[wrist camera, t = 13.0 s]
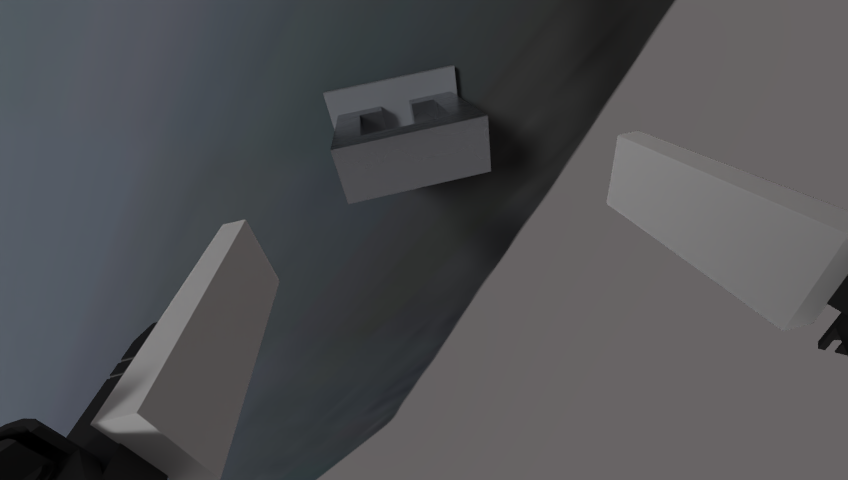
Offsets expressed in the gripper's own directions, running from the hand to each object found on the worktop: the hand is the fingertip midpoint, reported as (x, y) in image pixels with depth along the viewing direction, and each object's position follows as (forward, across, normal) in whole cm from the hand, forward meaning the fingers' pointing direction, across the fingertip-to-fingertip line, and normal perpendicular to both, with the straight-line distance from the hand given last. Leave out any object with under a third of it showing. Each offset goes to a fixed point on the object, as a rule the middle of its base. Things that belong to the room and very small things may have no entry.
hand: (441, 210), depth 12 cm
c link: (+14, 0, 0) cm, 14 cm away
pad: (+15, 0, 0) cm, 15 cm away
